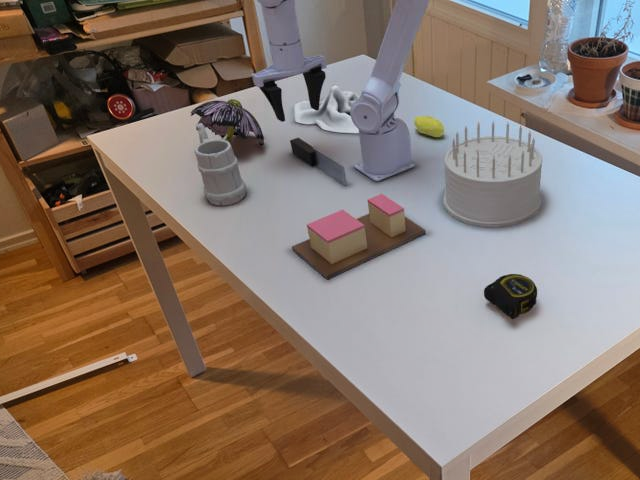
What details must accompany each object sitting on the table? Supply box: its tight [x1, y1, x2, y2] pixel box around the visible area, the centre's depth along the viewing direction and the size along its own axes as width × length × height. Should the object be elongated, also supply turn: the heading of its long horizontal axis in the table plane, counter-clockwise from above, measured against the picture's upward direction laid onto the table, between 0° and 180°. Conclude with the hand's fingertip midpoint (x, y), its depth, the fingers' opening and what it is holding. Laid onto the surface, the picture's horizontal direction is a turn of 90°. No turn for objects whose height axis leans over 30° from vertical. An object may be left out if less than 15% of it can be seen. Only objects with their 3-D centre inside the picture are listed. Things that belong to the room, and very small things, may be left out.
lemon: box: [413, 115, 445, 138], centre depth 139 cm, size 4×8×4 cm, turn 45°
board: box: [291, 213, 426, 280], centre depth 110 cm, size 20×11×1 cm, turn 130°
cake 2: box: [442, 120, 543, 228], centre depth 115 cm, size 18×18×13 cm
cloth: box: [293, 85, 361, 135], centre depth 147 cm, size 22×19×6 cm
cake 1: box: [306, 209, 367, 264], centre depth 107 cm, size 7×6×4 cm
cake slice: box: [367, 193, 406, 237], centre depth 111 cm, size 3×6×4 cm, turn 39°
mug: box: [194, 123, 247, 207], centre depth 120 cm, size 8×12×12 cm, turn 33°
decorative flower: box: [190, 98, 265, 151], centre depth 134 cm, size 15×12×15 cm
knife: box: [289, 137, 348, 187], centre depth 129 cm, size 2×19×4 cm, turn 40°
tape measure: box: [483, 273, 538, 320], centre depth 96 cm, size 7×7×4 cm
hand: (298, 114), depth 127 cm, fingers open, 7 cm apart
